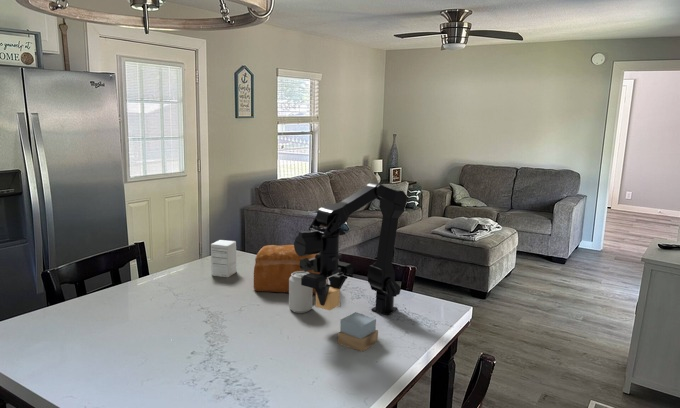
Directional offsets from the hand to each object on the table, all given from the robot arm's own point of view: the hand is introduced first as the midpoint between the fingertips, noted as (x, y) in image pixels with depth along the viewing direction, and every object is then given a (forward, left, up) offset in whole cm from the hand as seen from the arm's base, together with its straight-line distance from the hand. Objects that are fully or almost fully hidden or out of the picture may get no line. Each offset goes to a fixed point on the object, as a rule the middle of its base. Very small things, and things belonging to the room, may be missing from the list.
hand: (327, 302), depth 146 cm
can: (-6, -15, -8) cm, 18 cm away
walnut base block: (+3, +13, -8) cm, 15 cm away
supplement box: (-16, -61, -8) cm, 64 cm away
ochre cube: (0, 0, -1) cm, 1 cm away
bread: (-20, -30, -8) cm, 37 cm away
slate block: (+3, +12, -5) cm, 13 cm away
